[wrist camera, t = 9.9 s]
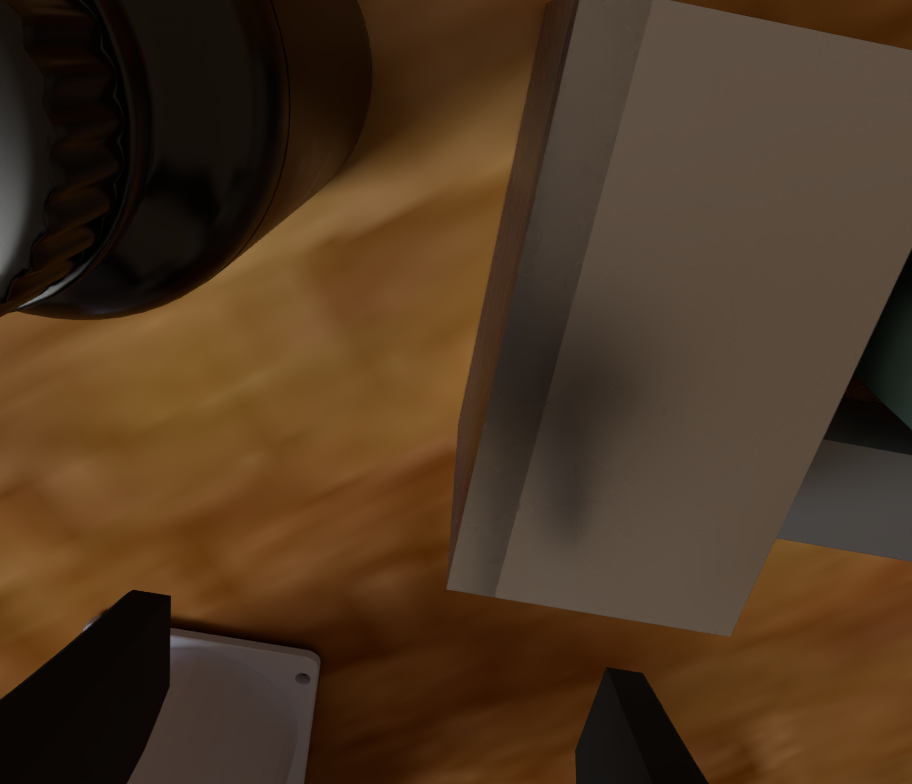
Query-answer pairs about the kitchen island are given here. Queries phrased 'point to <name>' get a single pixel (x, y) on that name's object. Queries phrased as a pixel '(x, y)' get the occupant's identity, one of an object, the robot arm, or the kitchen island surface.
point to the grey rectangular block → (674, 304)
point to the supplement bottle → (163, 140)
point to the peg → (892, 351)
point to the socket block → (858, 484)
